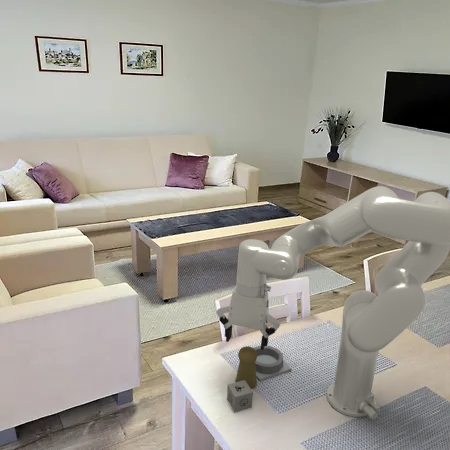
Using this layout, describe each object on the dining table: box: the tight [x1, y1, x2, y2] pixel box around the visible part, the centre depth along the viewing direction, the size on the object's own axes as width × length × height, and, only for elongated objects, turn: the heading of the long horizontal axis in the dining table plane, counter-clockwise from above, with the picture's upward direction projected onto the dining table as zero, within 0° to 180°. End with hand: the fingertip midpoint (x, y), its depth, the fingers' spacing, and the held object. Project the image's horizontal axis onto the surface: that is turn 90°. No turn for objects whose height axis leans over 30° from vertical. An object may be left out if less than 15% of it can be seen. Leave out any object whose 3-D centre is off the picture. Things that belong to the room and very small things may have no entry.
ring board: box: [253, 345, 293, 383], centre depth 126 cm, size 11×11×4 cm
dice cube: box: [226, 380, 254, 413], centre depth 111 cm, size 5×5×5 cm
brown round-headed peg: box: [234, 345, 258, 391], centre depth 118 cm, size 6×6×11 cm
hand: (245, 343), depth 116 cm, fingers open, 9 cm apart
